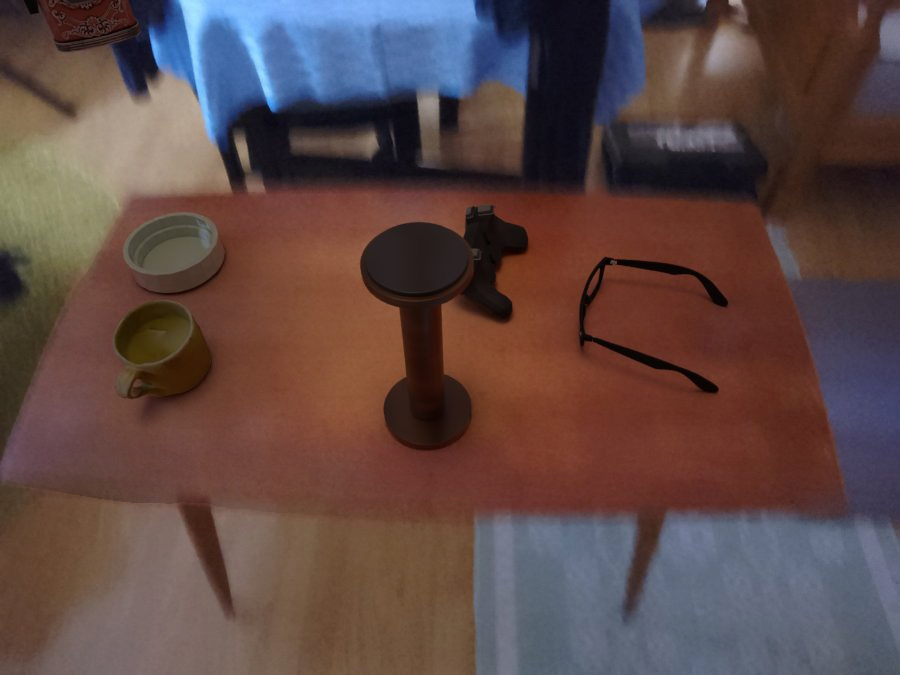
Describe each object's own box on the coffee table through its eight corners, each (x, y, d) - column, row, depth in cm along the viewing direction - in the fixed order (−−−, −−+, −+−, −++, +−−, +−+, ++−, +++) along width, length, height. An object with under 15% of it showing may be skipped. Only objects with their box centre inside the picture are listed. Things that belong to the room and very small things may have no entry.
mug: (164, 311, 86) (145, 276, 77) (232, 352, 86) (221, 323, 77) (97, 389, 81) (68, 362, 72) (169, 434, 81) (149, 412, 72)
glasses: (591, 275, 93) (595, 247, 89) (727, 300, 89) (737, 272, 85) (564, 366, 83) (567, 340, 79) (716, 400, 79) (727, 373, 75)
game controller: (490, 248, 99) (458, 195, 93) (533, 237, 96) (503, 182, 90) (467, 331, 89) (430, 278, 83) (514, 322, 86) (478, 266, 80)
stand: (402, 463, 74) (382, 311, 55) (372, 394, 80) (344, 236, 61) (486, 431, 76) (493, 275, 58) (450, 366, 82) (446, 206, 64)
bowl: (140, 307, 89) (128, 285, 86) (128, 248, 97) (117, 226, 94) (234, 279, 93) (226, 257, 89) (216, 224, 100) (208, 202, 97)
